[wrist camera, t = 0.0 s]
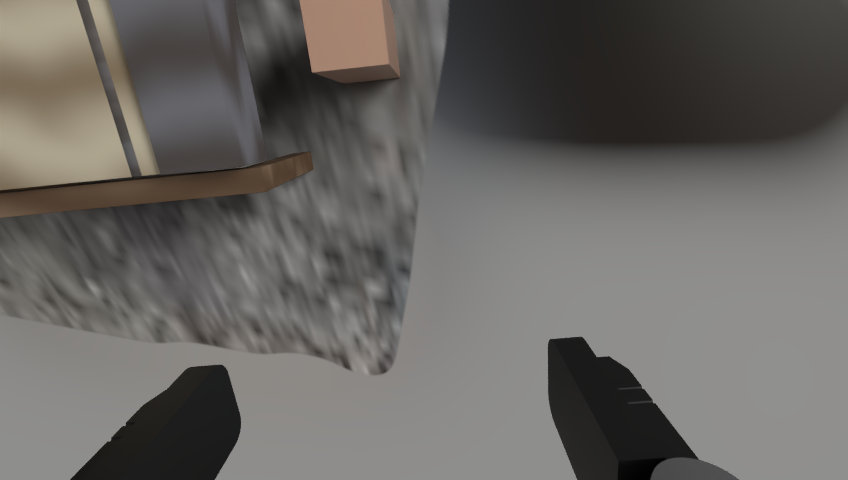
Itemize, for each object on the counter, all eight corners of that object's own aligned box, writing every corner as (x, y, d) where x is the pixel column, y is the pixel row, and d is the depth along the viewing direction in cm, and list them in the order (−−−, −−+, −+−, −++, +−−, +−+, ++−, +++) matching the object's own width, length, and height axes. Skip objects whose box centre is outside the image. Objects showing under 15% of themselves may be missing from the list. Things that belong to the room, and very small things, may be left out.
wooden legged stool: (-7, -10, 33) (-220, -70, 23) (275, -45, 32) (196, -125, 21) (68, 193, 39) (-76, 225, 28) (313, 169, 38) (265, 191, 27)
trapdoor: (-71, -25, 25) (-170, -52, 21) (220, -62, 25) (178, -98, 20) (14, 184, 29) (-55, 196, 25) (267, 159, 29) (239, 167, 24)
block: (334, 20, 34) (297, -17, 24) (393, 13, 34) (378, -26, 24) (343, 83, 35) (311, 72, 26) (400, 77, 35) (389, 64, 26)
